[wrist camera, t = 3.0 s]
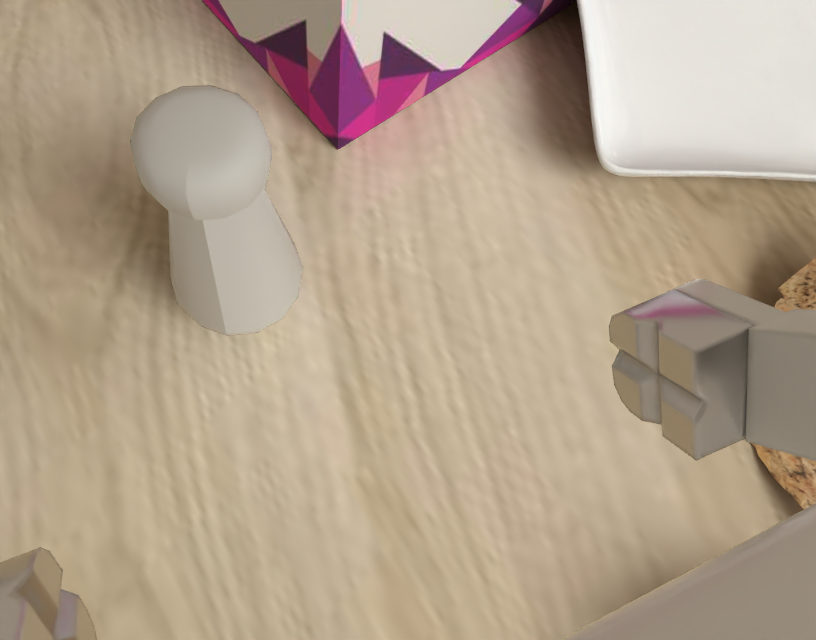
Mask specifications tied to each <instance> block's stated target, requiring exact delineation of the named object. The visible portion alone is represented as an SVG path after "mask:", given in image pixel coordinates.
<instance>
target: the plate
mask: <svg viewBox="0 0 816 640" xmlns="http://www.w3.org/2000/svg"><path fill="white" fill-rule="evenodd" d="M577 4H578V9H579V15H580V22H581V29H582V37H583V44H584V52H585V61H586V70H587V80H588V90H589V100H590V110H591V120H592V128H593V135H594V142H595V148H596V153H597V156H598V160H599V162H600V164H601V165H602V167H603V168H604V169H605V170H606V171H608V172H609V173H611V174H614V175H617V176H625V177H730V178H752V179H774V180H790V181H806V182H816V0H577Z"/></svg>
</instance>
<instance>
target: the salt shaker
mask: <svg viewBox="0 0 816 640" xmlns="http://www.w3.org/2000/svg"><path fill="white" fill-rule="evenodd" d="M130 142H131V149H132V155H133V159H134V162H135V166H136V169H137V173H138V177H139V180H140V181H141V183H142V185H143V186H144V188H145V190H146V191H147V192H148V193H150V194H151V195H152V196H153V197H154V198H155V199H156V200H157V201H158V202H159V203H160V204H161V205H162V206H163V207H165V208H166V209H167V210H168V219H169V247H170V275H171V281H172V285H173V289H174V292H175V296H176V300H177V303H178V305H179V306H180V307H181V308H183V309H184V310H185V311H186V312H187V313H188V314H189V315H190V316H191V317H192V318H193V319H194V320H195V321H196V322H197V323H198V324H199V325H200V326H202V327H204V328H207V329H210V330H213V331H216V332H219V333H222V334H225V335H228V336H230V335H240V334H250V333H258V332H260V331H262V330H263V329H265V328H267V327H269V326H270V325H272V324H274V323H276V322H278V321H279V320H281V319H283V317H284V316H285V315H286V313H287V312H288V310H289V309H290V308H291V306H292V305H293V303H294V302H295V301H296V299H297V298H298V295H299V290H300V284H301V277H302V271H303V265H302V263H301V260H300V257H299V255H298V252H297V249H296V247H295V244H294V242H293V240H292V238H291V236H290V235H289V233H288V231H287V229H286V227H285V225H284V224H283V222H282V220H281V218H280V216H279V215H278V213H277V211H276V209H275V207H274V205H273V204H272V202H271V200H270V198H269V196H268V194H267V192H266V190H265V186H266V184H267V181H268V176H269V171H270V166H271V161H272V146H271V144H270V141H269V139H268V136H267V133H266V131H265V128H264V126H263V123H262V121H261V118H260V116H259V114H258V111H256V110H255V109H254V108H253V107H252V106H251V105H250V104H249V103H248V102H247V101H245V100H244V99H243V98H242V97H241V96H240V95H239V94H237V93H234V92H230V91H227V90H224V89H221V88H218V87H215V86H212V85H209V86H182V87H179V88H177V89H175V90H172V91H170V92H168V93H165V94H163V95H161V96H159V97H156V98H155V99H154V100H153V101H152V102H151V103H150V104H149V105H148V106H147V107H146V108H145V109H144V110H143V111H142V112H141V113H140V114H139V115H138V116H137V118H136V122H135V126H134V129H133V133H132V137H131V141H130Z"/></svg>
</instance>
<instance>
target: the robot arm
mask: <svg viewBox="0 0 816 640" xmlns="http://www.w3.org/2000/svg"><path fill="white" fill-rule="evenodd" d="M609 335H610V342H611V343H612V344H613V345H614V346H616V347H617V348H618V349H619V352H618V354H617V356H616V359H615V361H614V363H613V365H612V371H613V379H614V386H615V388H616V390H617V392H618V394H619V396H620V399H621V401H622V402H623V403H624V405H625V406H626V407H627V408H628V410H629V411H630V412H631V413H633V414H634V415H635V416H636V417H638V418H639V419H640V420H642V421H646V422H651V423H656V424H661V427H662V434H663V437H665V438H666V439H667V440H669V441H670V442H671V443H673V444H674V445H676V446H677V447H678V448H680V449H681V450H682V451H684V452H685V453H687V454H688V455H689V456H691V457H692V458H693V459H695V460H698V459H700V458H703V457H705V456H707V455H709V454H712V453H714V452H716V451H718V450H720V449H723V448H725V447H727V446H729V445H732V444H734V443H736V442H738V441H740V440H743V439H745V438H746V441H747V442H750V443H754V444H757V445H761V446H764V447H768V448H771V449H775V450H778V451H782V452H785V453H789V454H792V455H796V456H799V457H802V458H806V459H809V460H813V461H816V310H807V309H793V310H790V311H788V312H784V311H782V310H779V309H777V308H774V307H772V306H770V305H767V304H765V303H762V302H760V301H757V300H755V299H752V298H750V297H747V296H745V295H743V294H740V293H738V292H735V291H733V290H730V289H728V288H725V287H723V286H720V285H718V284H715V283H713V282H711V281H708V280H706V279H694V280H692V281H689V282H687V283H685V284H683V285H681V286H678V287H676V288H674V289H672V290H669V291H667V292H666V293H664V294H662V295H659V296H657V297H655V298H652V299H650V300H648V301H645V302H643V303H641V304H638V305H636V306H634V307H631V308H629V309H627V310H624V311H622V312H620V313H617V314H615V315H613V316H612V317H611V321H610V325H609ZM62 571H63V570H62V568H61V567H60V565H59V564H58V562H57V561H56V560H55V558H54V557H53V555H52V554H51V552H50V551H48V550H46V549H43V548H41V547H40V548H37V549H35V550H32V551H29V552H27V553H24V554H22V555H19V556H16V557H14V558H11V559H9V560H6V561H3V562H1V563H0V640H97V638H96V633H95V628H94V625H93V622H92V620H91V617H90V615H89V612H88V610H87V608H86V606H85V605H84V603H83V602H82V600H81V598H80V597H79V595H77V594H74V593H71V592H68V591H65V590H62V589H61V581H62ZM561 640H816V503H815V504H813V505H811V506H810V507H808V508H806V509H804V510H802V511H800V512H798V513H796V514H795V515H793V516H791V517H789V518H787V519H785V520H783V521H782V522H780V523H778V524H776V525H774V526H772V527H770V528H768V529H767V530H765V531H763V532H761V533H759V534H757V535H755V536H753V537H752V538H750V539H748V540H746V541H744V542H742V543H740V544H738V545H737V546H735V547H733V548H731V549H729V550H727V551H725V552H723V553H722V554H720V555H718V556H716V557H714V558H712V559H710V560H708V561H707V562H705V563H703V564H701V565H699V566H697V567H695V568H694V569H692V570H690V571H688V572H686V573H684V574H682V575H680V576H679V577H677V578H675V579H673V580H671V581H669V582H667V583H665V584H664V585H662V586H660V587H658V588H656V589H654V590H652V591H650V592H649V593H647V594H645V595H643V596H641V597H639V598H637V599H635V600H634V601H632V602H630V603H628V604H626V605H624V606H622V607H621V608H619V609H617V610H615V611H613V612H611V613H609V614H607V615H606V616H604V617H602V618H600V619H598V620H596V621H594V622H593V623H591V624H589V625H587V626H585V627H583V628H581V629H579V630H578V631H576V632H574V633H572V634H570V635H568V636H566V637H565V638H563V639H561Z"/></svg>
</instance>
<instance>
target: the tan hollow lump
mask: <svg viewBox="0 0 816 640" xmlns="http://www.w3.org/2000/svg"><path fill="white" fill-rule="evenodd" d="M778 290H779V291H781V293H782V295H783V297H784V299H781V298H780V300H779V301H776V304H775V306H774V308H777V309H779V310H782V311H784V312H788V311H790V310H793V309H807V310H816V258H815V259H813V260H812V261H811V262H809V263H808V264H807V265H806V266H804V267H803V268H802V269H801V270H799V271H798V272H797V273H796V274H794V275H793V276H792V277H791V278H790V279H788V280H787V281H786V282H785V283H784V284H782V285H781V286H780V287H779V288H778ZM751 444H752V445H753V446H755V448H756V450H757V454H758V456H759V457H760V459H761V460H762V462H763V463H764V464H765V465H766V466H767V468H768V470H769V473H770V474H771V475H772V476H773V478H774V479H775V480H776V481H777V482H779V483H780V485H781V486H782V487H783V488H784V489H785V490H786V491H787V492H788V493H789V494H790V495H791V496H792V497H793V498H794V499H795V500H796V501H797V503H798V504H799V505H801V507H802V508H803V509H806V508H808V507H810V506H811V505H813V504H815V503H816V461H813V460H809V459H806V458H802V457H799V456H796V455H792V454H789V453H785V452H782V451H778V450H775V449H771V448H768V447H764V446H761V445H757V444H754V443H751Z"/></svg>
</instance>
